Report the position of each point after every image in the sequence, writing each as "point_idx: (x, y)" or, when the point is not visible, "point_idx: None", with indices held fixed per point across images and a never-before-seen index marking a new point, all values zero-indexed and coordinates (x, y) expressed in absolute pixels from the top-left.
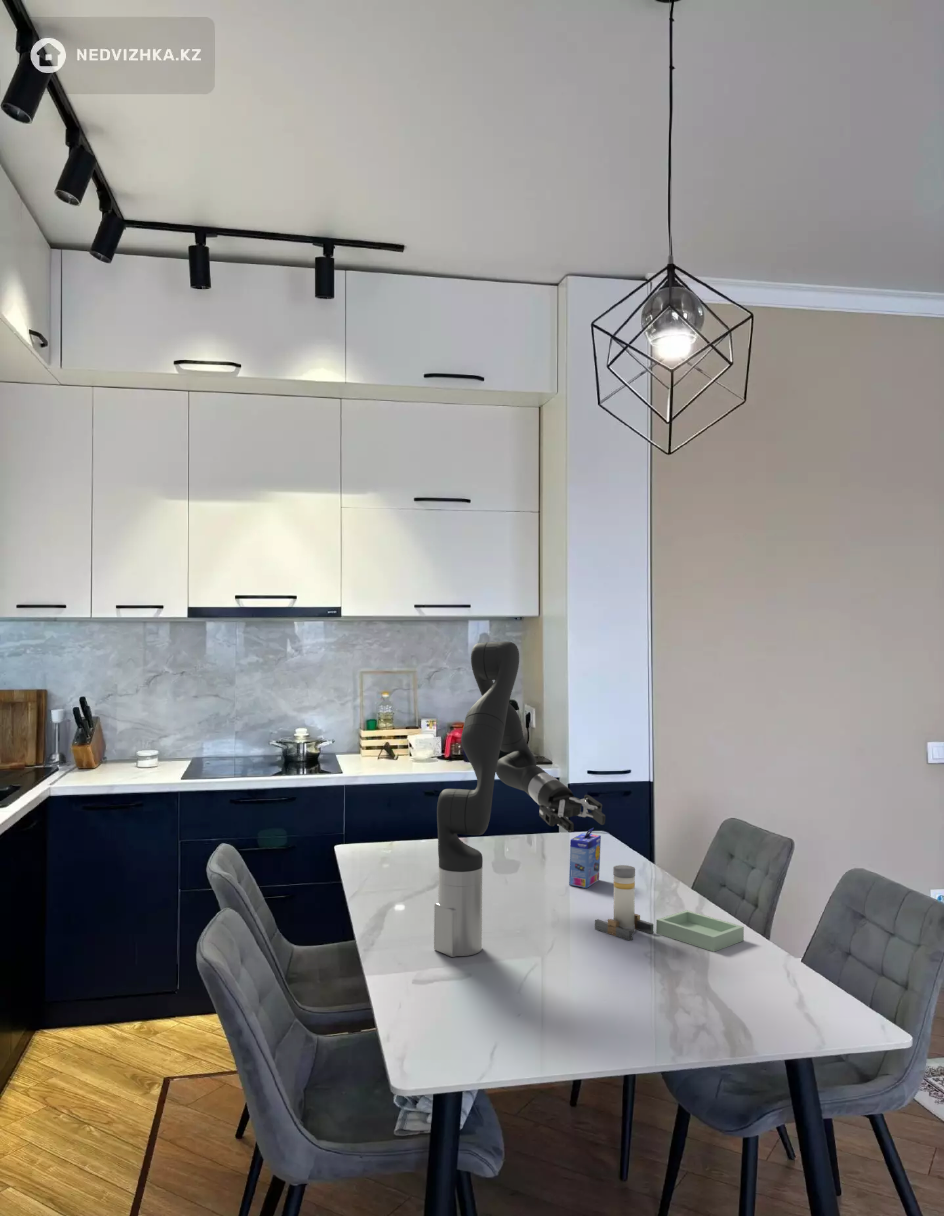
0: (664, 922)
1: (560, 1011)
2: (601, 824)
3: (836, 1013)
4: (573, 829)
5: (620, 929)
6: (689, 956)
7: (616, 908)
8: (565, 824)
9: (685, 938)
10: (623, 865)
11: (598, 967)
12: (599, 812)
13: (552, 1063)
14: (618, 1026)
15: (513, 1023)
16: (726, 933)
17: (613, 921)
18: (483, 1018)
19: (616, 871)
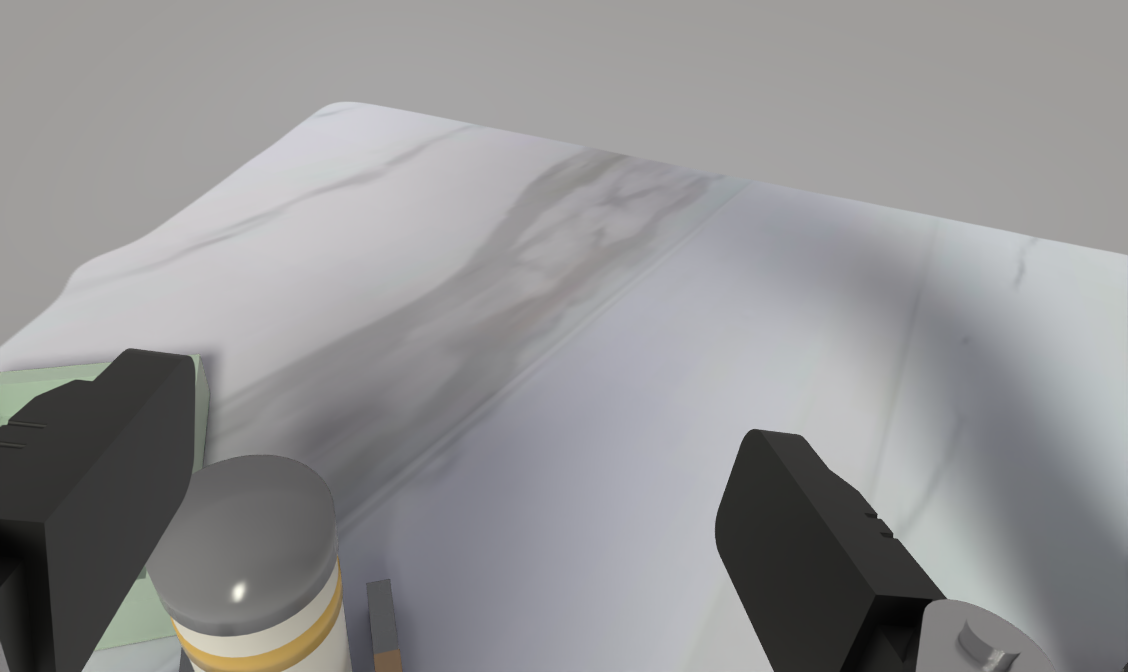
0: None
1: (866, 319)
2: (186, 484)
3: (341, 148)
4: (727, 490)
5: (395, 635)
6: (321, 401)
7: (350, 665)
8: (863, 506)
9: None
10: (173, 580)
11: (670, 452)
12: (72, 417)
13: (916, 225)
14: (764, 248)
15: (979, 321)
16: (105, 364)
17: (400, 667)
18: (1050, 356)
19: (334, 523)
